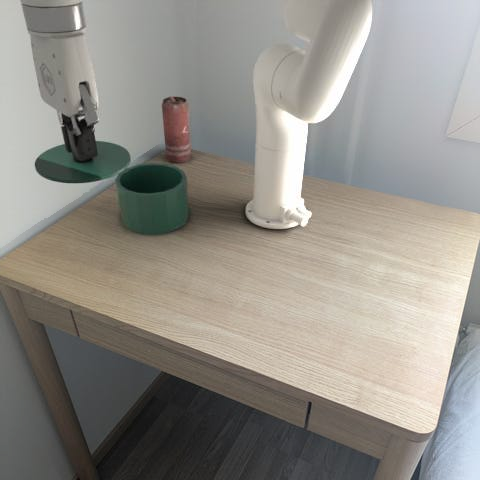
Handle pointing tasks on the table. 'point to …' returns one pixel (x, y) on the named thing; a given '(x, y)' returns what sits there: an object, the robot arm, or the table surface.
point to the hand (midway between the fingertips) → (82, 153)
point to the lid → (82, 162)
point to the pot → (153, 198)
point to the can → (176, 129)
